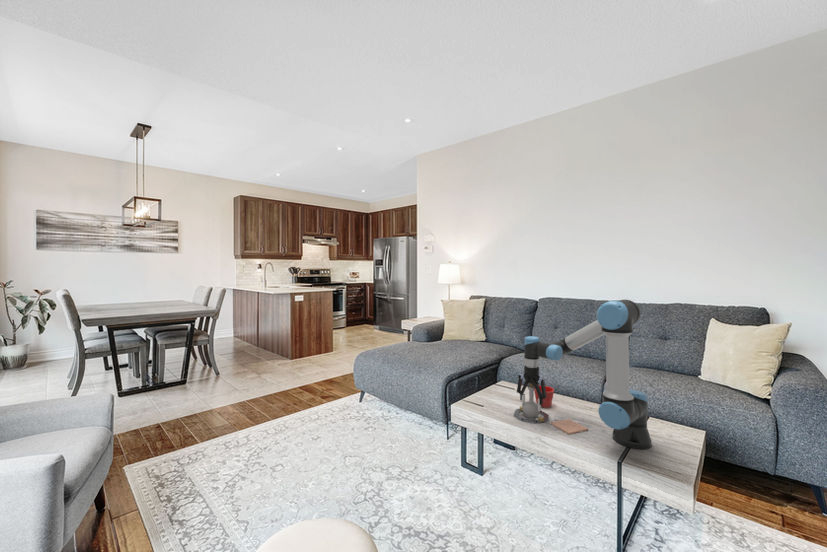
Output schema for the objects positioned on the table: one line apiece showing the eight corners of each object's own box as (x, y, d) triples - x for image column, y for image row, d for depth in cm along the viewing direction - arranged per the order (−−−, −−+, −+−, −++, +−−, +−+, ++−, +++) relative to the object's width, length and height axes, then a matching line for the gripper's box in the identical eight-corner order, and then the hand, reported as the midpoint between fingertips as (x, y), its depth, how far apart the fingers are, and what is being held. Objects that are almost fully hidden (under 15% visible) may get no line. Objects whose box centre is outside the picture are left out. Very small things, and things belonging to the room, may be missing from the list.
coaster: (587, 430, 171) (587, 428, 171) (568, 434, 167) (568, 432, 167) (569, 420, 182) (569, 418, 182) (550, 424, 178) (550, 422, 178)
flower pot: (557, 408, 197) (557, 391, 197) (537, 408, 198) (537, 391, 197) (550, 401, 208) (550, 385, 208) (531, 401, 208) (531, 385, 208)
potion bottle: (520, 413, 191) (520, 380, 191) (536, 412, 192) (536, 379, 192) (526, 420, 183) (526, 385, 182) (543, 419, 183) (543, 385, 183)
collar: (555, 420, 182) (555, 416, 182) (528, 425, 176) (528, 421, 176) (533, 408, 198) (533, 404, 198) (508, 412, 192) (508, 408, 192)
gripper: (553, 367, 183) (553, 411, 184) (515, 361, 196) (515, 401, 197) (549, 371, 177) (548, 416, 178) (510, 364, 190) (509, 405, 191)
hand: (531, 408), depth 187 cm, fingers closed on potion bottle, 8 cm apart
